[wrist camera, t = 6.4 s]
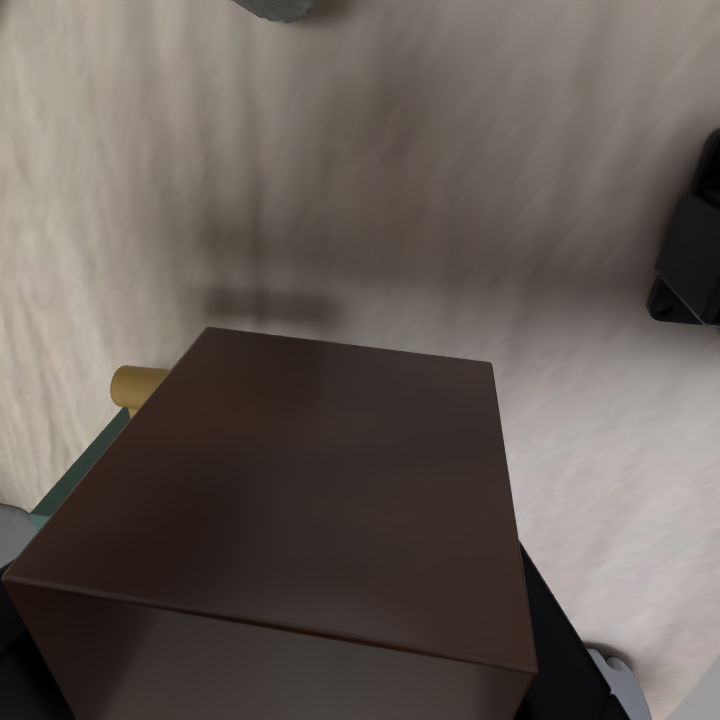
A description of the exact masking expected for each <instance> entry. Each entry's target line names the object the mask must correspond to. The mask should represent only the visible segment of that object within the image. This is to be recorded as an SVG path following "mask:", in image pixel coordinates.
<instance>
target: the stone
mask: <svg viewBox="0 0 720 720" xmlns="http://www.w3.org/2000/svg"><path fill="white" fill-rule="evenodd" d="M233 1H234V2H236V3H237V4H239V5H241V6H242V7H244V8H245V9H247V10H248V11H250V12H252V13H253V14H255V15H257V16H258V17H260V18H266V19H268V20H270V21H283V22H285V23H290V22H294V21H297V20H298V19H299V18H302V17H303V16H304V15H305V14H307V13H308V12H309V11H310V10H311V9H312V8H313V7H314V5H315V4H316V3H317V1H318V0H233Z"/></svg>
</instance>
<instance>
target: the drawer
mask: <svg viewBox="0 0 720 720" xmlns="http://www.w3.org/2000/svg"><path fill="white" fill-rule="evenodd" d="M170 371H171V370H164V369H155V368H146V367H137V366H128V365H125V366H122V367H120V368H119V369H118V370H117V371H116V372H115V374H114V376H113V378H112V382H111V388H110V393H111V398H112V400H113V402H114V403H115V404H116V405H117V406H120V407H123V408H122V409H121V411H120V412H119V413H118V414H117V415H116V416H115V417H114V419H113V420H112V421H111V422H110V423H109V424H108V425H107V426H106V428H105V429H104V430H103V431H102V432H101V433H100V434H99V436H98V437H97V438H96V439H95V440H94V441H93V442H92V444H91V445H90V446H89V447H88V448H87V449H86V450H85V452H84V453H83V454H82V455H81V456H80V457H79V458H78V459H77V461H76V462H75V463H74V464H73V465H72V466H71V467H70V469H69V470H68V471H67V472H66V473H65V474H64V475H63V477H62V478H61V479H60V480H59V481H58V482H57V483H56V485H55V486H54V487H53V488H52V489H51V490H50V491H49V492H48V494H47V495H46V496H45V497H44V498H43V499H42V500H41V502H40V503H39V504H38V505H37V506H36V507H35V508H34V510H33V511H32V512H31V513H30V517H31V519H32V521H33V523H34V525H35V527H36V529H37V532H38V531H39V530H40V529H41V527H42V526H43V525H44V524H45V523H46V521H47V520H48V519H49V518H50V516H51V515H52V514H53V513H54V512H55V510H56V509H57V508H58V507H59V506H60V504H61V503H62V502H63V501H64V499H65V498H66V497H67V496H68V495H69V493H70V492H71V491H72V490H73V489H74V487H75V486H76V485H77V484H78V482H79V481H80V480H81V479H82V478H83V476H84V475H85V474H86V473H87V472H88V470H89V469H90V468H91V467H92V465H93V464H94V463H95V462H96V461H97V459H98V458H99V457H100V456H101V455H102V453H103V452H104V451H105V450H106V448H107V447H108V446H109V445H110V444H111V442H112V441H113V440H114V439H115V438H116V436H117V435H118V434H119V433H120V431H121V430H122V429H123V428H124V427H125V425H126V424H127V423H128V422H129V421H130V419H131V418H132V417H133V416H134V414H135V413H136V412H137V411H138V410H139V408H140V407H141V406H142V405H143V404H144V402H145V401H146V400H147V399H148V397H149V396H150V395H151V394H152V393H153V391H154V390H155V389H156V388H157V387H158V385H159V384H160V383H161V382H162V380H163V379H164V378H165V377H166V376H167V374H168V373H169V372H170Z"/></svg>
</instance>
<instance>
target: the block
mask: <svg viewBox="0 0 720 720" xmlns="http://www.w3.org/2000/svg"><path fill="white" fill-rule="evenodd" d="M2 582H3V584H4V586H5V588H6V590H7V591H8V593H9V595H10V597H11V599H12V601H13V603H14V605H15V606H16V608H17V610H18V612H19V614H20V616H21V618H22V620H23V621H24V623H25V625H26V627H27V629H28V631H29V633H30V635H31V636H32V638H33V640H34V642H35V644H36V646H37V648H38V650H39V651H40V653H41V655H42V657H43V659H44V661H45V663H46V665H47V666H48V668H49V670H50V672H51V674H52V676H53V678H54V680H55V681H56V683H57V685H58V687H59V689H60V691H61V693H62V694H63V696H64V698H65V700H66V702H67V704H68V706H69V708H70V709H71V711H72V713H73V715H74V717H75V719H76V720H514V719H515V717H516V715H517V713H518V711H519V709H520V707H521V705H522V703H523V701H524V699H525V697H526V695H527V693H528V691H529V689H530V687H531V685H532V683H533V681H534V679H535V677H536V675H537V672H538V664H537V658H536V651H535V645H534V638H533V631H532V625H531V618H530V611H529V605H528V598H527V592H526V585H525V578H524V572H523V565H522V559H521V552H520V545H519V539H518V532H517V526H516V519H515V512H514V506H513V499H512V492H511V486H510V479H509V473H508V466H507V459H506V453H505V446H504V440H503V433H502V426H501V420H500V413H499V406H498V400H497V393H496V387H495V380H494V373H493V367H492V363H490V362H484V361H476V360H468V359H460V358H453V357H445V356H437V355H429V354H421V353H413V352H405V351H397V350H389V349H381V348H373V347H365V346H357V345H349V344H341V343H333V342H325V341H317V340H310V339H302V338H294V337H286V336H278V335H270V334H262V333H254V332H246V331H238V330H230V329H222V328H214V327H207V328H205V329H204V331H203V332H202V333H201V334H200V336H199V337H198V338H197V339H196V340H195V342H194V343H193V344H192V345H191V346H190V348H189V349H188V350H187V351H186V353H185V354H184V355H183V356H182V357H181V359H180V360H179V361H178V362H177V363H176V365H175V366H174V367H173V368H172V370H171V371H170V372H169V373H168V374H167V376H166V377H165V378H164V379H163V380H162V382H161V383H160V384H159V385H158V387H157V388H156V389H155V390H154V391H153V393H152V394H151V395H150V396H149V397H148V399H147V400H146V401H145V402H144V404H143V405H142V406H141V407H140V408H139V410H138V411H137V412H136V413H135V414H134V416H133V417H132V418H131V419H130V421H129V422H128V423H127V424H126V425H125V427H124V428H123V429H122V430H121V431H120V433H119V434H118V435H117V436H116V438H115V439H114V440H113V441H112V442H111V444H110V445H109V446H108V447H107V448H106V450H105V451H104V452H103V453H102V455H101V456H100V457H99V458H98V459H97V461H96V462H95V463H94V464H93V465H92V467H91V468H90V469H89V470H88V472H87V473H86V474H85V475H84V476H83V478H82V479H81V480H80V481H79V482H78V484H77V485H76V486H75V487H74V489H73V490H72V491H71V492H70V493H69V495H68V496H67V497H66V498H65V499H64V501H63V502H62V503H61V504H60V506H59V507H58V508H57V509H56V510H55V512H54V513H53V514H52V515H51V516H50V518H49V519H48V520H47V521H46V523H45V524H44V525H43V526H42V527H41V529H40V530H39V531H38V532H37V533H36V535H35V536H34V537H33V538H32V540H31V541H30V542H29V543H28V544H27V546H26V547H25V548H24V549H23V550H22V552H21V553H20V554H19V555H18V557H17V558H16V559H15V560H14V561H13V563H12V564H11V565H10V566H9V567H8V569H7V570H6V571H5V572H4V574H3V576H2Z"/></svg>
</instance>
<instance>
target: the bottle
mask: <svg viewBox="0 0 720 720" xmlns="http://www.w3.org/2000/svg"><path fill="white" fill-rule="evenodd" d="M587 650H588V651H589V653H590V655H591V656H592V658H593V660H594V661H595V663H596V664H597V666H598V668H599V669H600V671H601V672H602V674H603V676H604V677H605V679H606V680H607V682H608V684H609V685H610V687H611V693H613V694H615V695H616V696H617V698H618V699H619V701H620V703H621V704H622V706H623V707H624V709H625V711H626V712H627V714H628V715H629V717H630V719H631V720H652V717H651V714H650V711H649V708H648V705H647V702H646V699H645V697H644V695H643V692H642V690H641V688H640V686H639V684H638V682H637V680H636V678H635V676H634V675H633V673H632V671H631V670H630V669H629V668H628V667H627V665H626V664H625V663H624V662H622V661H621V660H620V659H618V658H616V657H610V658H609V659H607V664H606V662H605V660H604V659H603V657H602V656H601V655H600V654H599V653H598V651H596V650H594V649H587Z"/></svg>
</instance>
